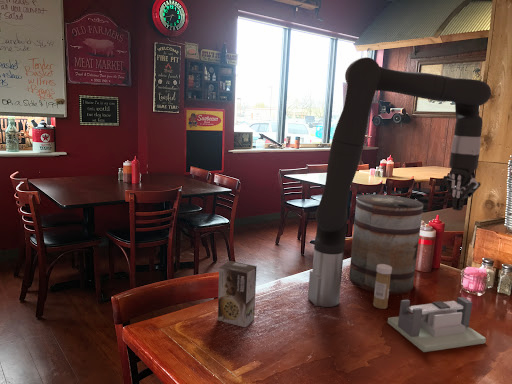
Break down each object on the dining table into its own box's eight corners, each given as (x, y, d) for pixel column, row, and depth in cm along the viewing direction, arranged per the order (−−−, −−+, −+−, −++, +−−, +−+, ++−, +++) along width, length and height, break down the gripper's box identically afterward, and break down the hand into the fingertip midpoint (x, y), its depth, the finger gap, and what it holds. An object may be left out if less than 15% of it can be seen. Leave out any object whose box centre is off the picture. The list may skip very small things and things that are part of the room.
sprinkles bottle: (390, 307, 136) (395, 267, 133) (380, 310, 134) (385, 269, 131) (379, 301, 140) (383, 262, 137) (369, 304, 137) (373, 264, 135)
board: (423, 352, 111) (427, 319, 109) (386, 322, 126) (390, 292, 124) (485, 343, 117) (490, 311, 115) (443, 315, 132) (447, 287, 130)
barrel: (424, 283, 157) (434, 203, 151) (393, 300, 141) (404, 211, 136) (369, 265, 173) (377, 192, 167) (336, 279, 157) (344, 198, 151)
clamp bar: (414, 315, 116) (415, 311, 116) (406, 309, 119) (406, 305, 119) (462, 308, 121) (463, 304, 120) (453, 303, 124) (454, 299, 124)
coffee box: (255, 318, 124) (257, 265, 121) (245, 328, 119) (247, 273, 116) (227, 311, 128) (229, 259, 125) (216, 320, 122) (218, 266, 119)
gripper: (438, 149, 130) (431, 205, 133) (471, 154, 118) (463, 215, 121) (459, 149, 132) (451, 204, 136) (493, 154, 120) (484, 215, 123)
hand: (457, 209), depth 128 cm, fingers closed
